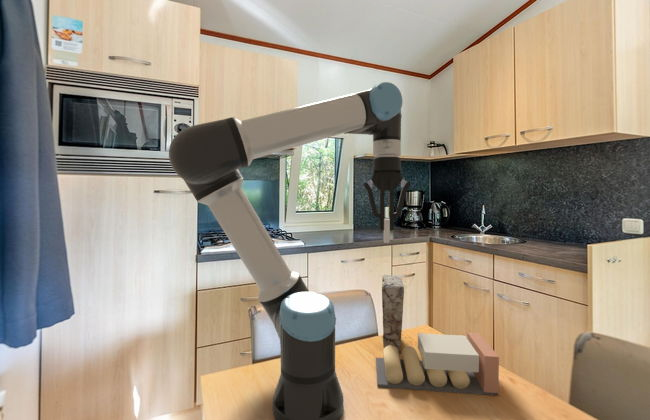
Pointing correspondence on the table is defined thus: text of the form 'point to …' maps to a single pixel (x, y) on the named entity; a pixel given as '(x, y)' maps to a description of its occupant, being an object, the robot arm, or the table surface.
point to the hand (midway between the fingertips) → (386, 242)
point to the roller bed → (426, 382)
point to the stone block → (392, 310)
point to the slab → (447, 352)
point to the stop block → (485, 363)
